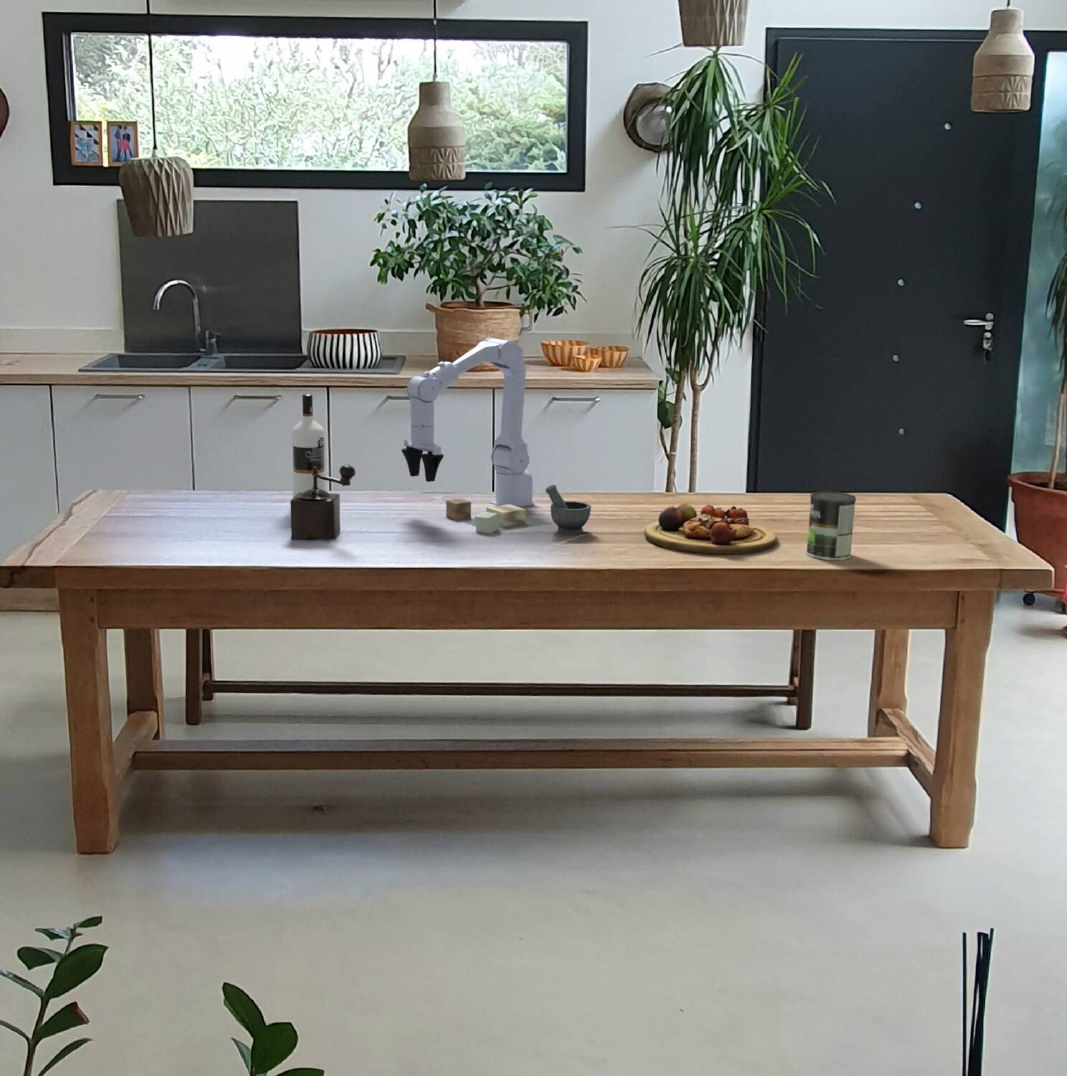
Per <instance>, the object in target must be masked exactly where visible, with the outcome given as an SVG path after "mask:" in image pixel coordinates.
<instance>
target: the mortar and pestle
mask: <svg viewBox="0 0 1067 1076" xmlns="http://www.w3.org/2000/svg"><path fill="white" fill-rule="evenodd" d="M545 493H546V494H548V497H549V499H550V500H551V504H550V517H551V518H552V521H553V523H554V524H555V525H556V526H557V533H559V534H561V535H567V536H572V535H573V536H575V535H582V533H583V532H584V531H583V530H584V529H583V527H584V526H585V525H587V522H588V520H589V519H590V516H591V509H592V505H590V504H589V503H587V502H583V501H576V500H575V501H574V500H572V501H571V500H568V501H567V500H566V501H564V499H563V497H562V496H561V494H560V492H559V491H558V489H557V486H556V484H550V485H549V486H547V487H546V489H545Z"/></svg>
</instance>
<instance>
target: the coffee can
mask: <svg viewBox="0 0 1067 1076" xmlns="http://www.w3.org/2000/svg"><path fill="white" fill-rule="evenodd" d="M856 501H857V497H856V496H855V495H853V494H850V493H847V492H846V493H845V492H841V491H815V492H812V493H811V494H810V506H809V517H808V518H809V520H808V531H807V546H806V552H805V553H806V555H807V556H809V557H811V558H814V559H817V560H823V561H832V562H834V561H835V562H836V561H845V560H849V559H850V558H851V557H852V556H851V553H852V544H853V543H852V541H853V530H854V519H855V509H856Z"/></svg>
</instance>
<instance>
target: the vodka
mask: <svg viewBox="0 0 1067 1076" xmlns="http://www.w3.org/2000/svg"><path fill="white" fill-rule="evenodd" d="M301 400H302V403H301V404H302V420H301V421H299V422H298V423H297V424H295V425H294V426H293V428H292V429H291V444H292V463H293V464H292V467H293V470H292V473H291V474H292V479H293V480H292V481H293V484H292V485H293V487H292V499H293V498H294V497H295V496H296V495H297V494H298V493H299V492H303V493H304V492H305V491H307V490H309V489H312V488H313V476H312V473H313V470H312V469H313V467H317V468H318V471H317V473H318V475H321V476H325V477H326V471H325V467H326V465H325V444H326V441H325V434H326V432H325V429H324V427H323V426H322V425H321V424H319V423H318V422H316V421H315V419H314V415H313V414H314V408H313V407H314V406H313V404H314V402H313V395H312V394H309V393H304V394H302V398H301ZM317 487H318V489H322V490H324V491H326V492H327V490H326V480H323V479H320V478H318V477H317ZM292 499H291V500H292Z"/></svg>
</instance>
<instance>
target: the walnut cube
mask: <svg viewBox="0 0 1067 1076" xmlns="http://www.w3.org/2000/svg"><path fill="white" fill-rule="evenodd" d="M445 502H446V503H445V506H446V508H445V511H446V512H445V514H446V517H447V518H450V519H453V520H456V521H458V520H464V519H465V520H466V519H472V518H471V517H472V501H470V500H466V499H464V498H457V499H456V498H455V499H447V500H446V501H445Z"/></svg>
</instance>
